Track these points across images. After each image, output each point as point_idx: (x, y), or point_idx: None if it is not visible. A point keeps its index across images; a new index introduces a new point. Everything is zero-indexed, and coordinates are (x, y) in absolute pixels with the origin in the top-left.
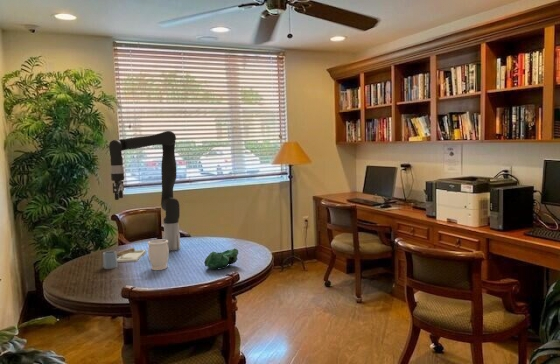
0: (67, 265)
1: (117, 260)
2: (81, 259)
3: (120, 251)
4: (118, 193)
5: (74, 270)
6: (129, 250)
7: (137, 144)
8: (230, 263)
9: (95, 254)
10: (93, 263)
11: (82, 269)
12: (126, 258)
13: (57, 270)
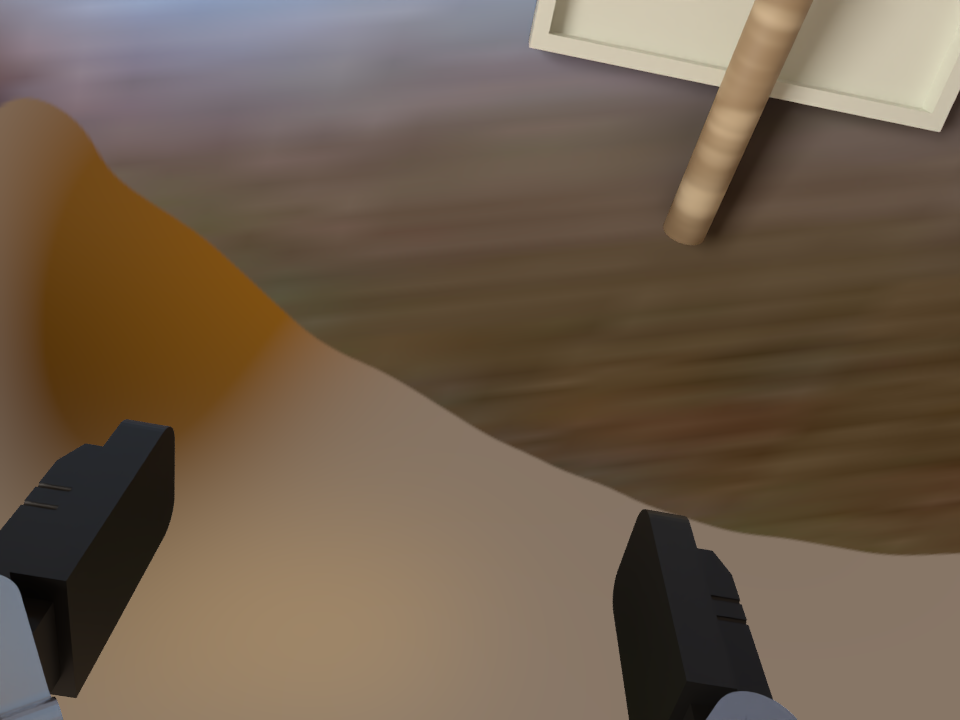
0: (733, 506)
1: (945, 114)
2: (578, 439)
3: (753, 107)
4: (738, 693)
5: (931, 441)
6: None
7: None
8: None
9: (433, 353)
10: (780, 331)
11: (939, 390)
12: (824, 21)
13: (850, 545)
